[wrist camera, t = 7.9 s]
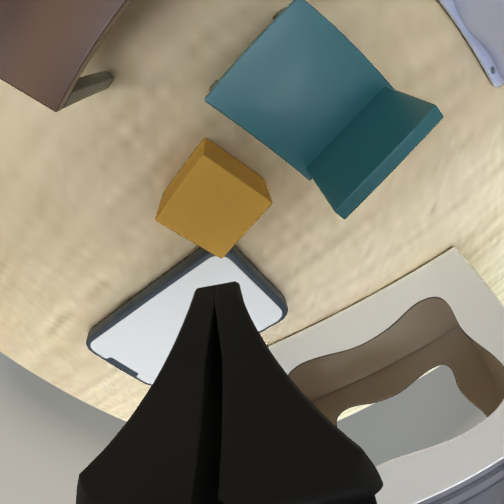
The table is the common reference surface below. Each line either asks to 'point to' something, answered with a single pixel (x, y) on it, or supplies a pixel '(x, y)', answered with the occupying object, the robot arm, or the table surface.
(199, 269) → the phone case
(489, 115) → the table surface
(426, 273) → the gable box
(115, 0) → the side table
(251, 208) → the mustard yellow block
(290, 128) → the chair
